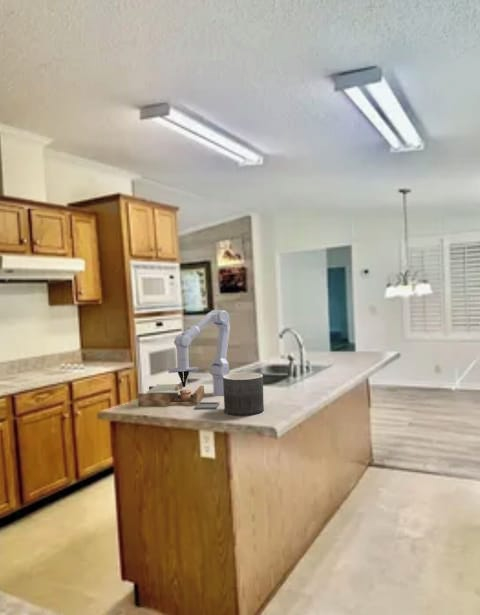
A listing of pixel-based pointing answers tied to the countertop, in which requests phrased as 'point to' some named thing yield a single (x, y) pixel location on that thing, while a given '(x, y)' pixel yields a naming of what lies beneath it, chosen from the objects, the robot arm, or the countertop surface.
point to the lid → (166, 388)
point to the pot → (185, 395)
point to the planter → (243, 393)
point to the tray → (207, 405)
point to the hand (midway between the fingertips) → (183, 386)
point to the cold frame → (169, 398)
